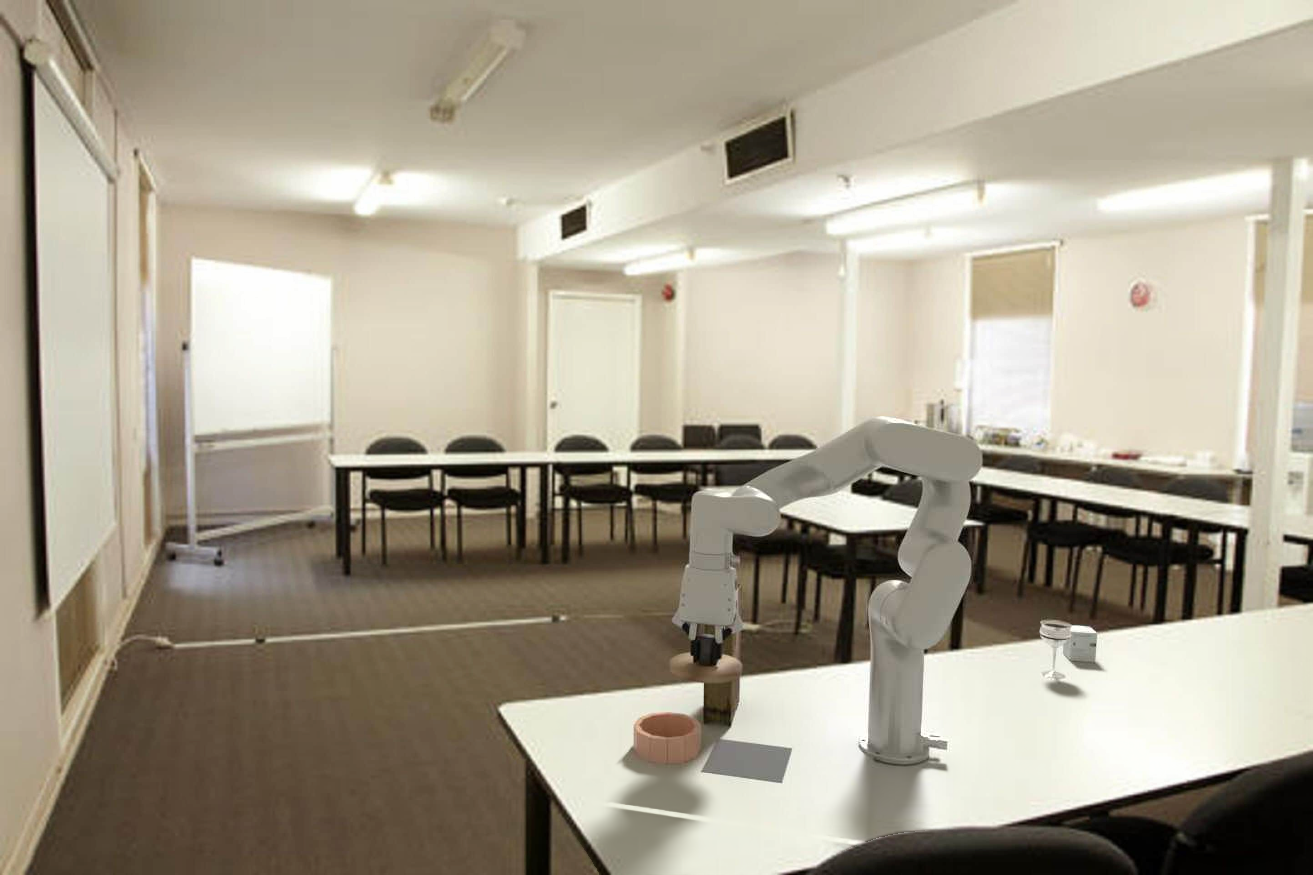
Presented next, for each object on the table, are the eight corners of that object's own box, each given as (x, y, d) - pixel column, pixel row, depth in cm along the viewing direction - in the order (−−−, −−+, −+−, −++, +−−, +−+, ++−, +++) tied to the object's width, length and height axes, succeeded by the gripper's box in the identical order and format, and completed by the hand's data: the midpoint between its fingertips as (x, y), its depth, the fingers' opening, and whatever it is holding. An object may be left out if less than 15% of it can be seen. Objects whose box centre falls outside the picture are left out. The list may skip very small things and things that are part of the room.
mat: (792, 751, 164) (792, 748, 164) (781, 785, 150) (781, 782, 150) (717, 741, 167) (717, 738, 167) (701, 774, 154) (701, 771, 154)
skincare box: (1069, 660, 216) (1071, 631, 215) (1062, 652, 222) (1063, 624, 221) (1096, 662, 215) (1097, 632, 214) (1088, 654, 221) (1089, 625, 220)
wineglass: (1074, 679, 202) (1077, 628, 201) (1044, 679, 202) (1047, 628, 201) (1061, 669, 209) (1064, 619, 208) (1032, 669, 209) (1035, 619, 208)
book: (714, 696, 190) (716, 581, 188) (740, 698, 189) (742, 583, 187) (703, 727, 174) (705, 602, 172) (730, 729, 173) (733, 604, 171)
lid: (747, 662, 164) (748, 630, 163) (735, 687, 151) (737, 651, 151) (678, 654, 167) (679, 622, 166) (661, 677, 154) (663, 642, 154)
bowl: (706, 742, 167) (706, 716, 166) (691, 770, 155) (691, 742, 155) (645, 734, 170) (645, 709, 170) (626, 761, 159) (626, 734, 158)
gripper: (758, 560, 159) (754, 660, 161) (671, 552, 163) (667, 649, 165) (752, 569, 152) (747, 674, 153) (660, 560, 156) (656, 662, 158)
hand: (705, 660), depth 159 cm, fingers closed on lid, 2 cm apart
